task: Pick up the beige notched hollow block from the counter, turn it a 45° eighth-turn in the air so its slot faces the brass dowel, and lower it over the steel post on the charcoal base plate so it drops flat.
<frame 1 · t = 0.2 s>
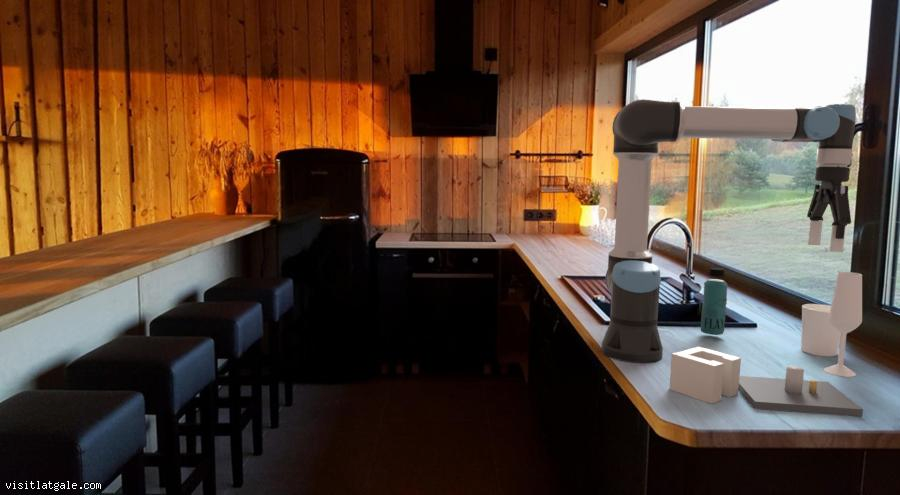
hand: (824, 248, 164), 28 cm above the table, tool pointing down, fingers open, 13 cm apart
champagne flute: (839, 372, 151), on the table
candle holder: (818, 352, 167), on the table
beverage bottle: (711, 337, 180), on the table
base plate: (792, 397, 133), on the table
beige notched hollow block: (703, 391, 136), on the table
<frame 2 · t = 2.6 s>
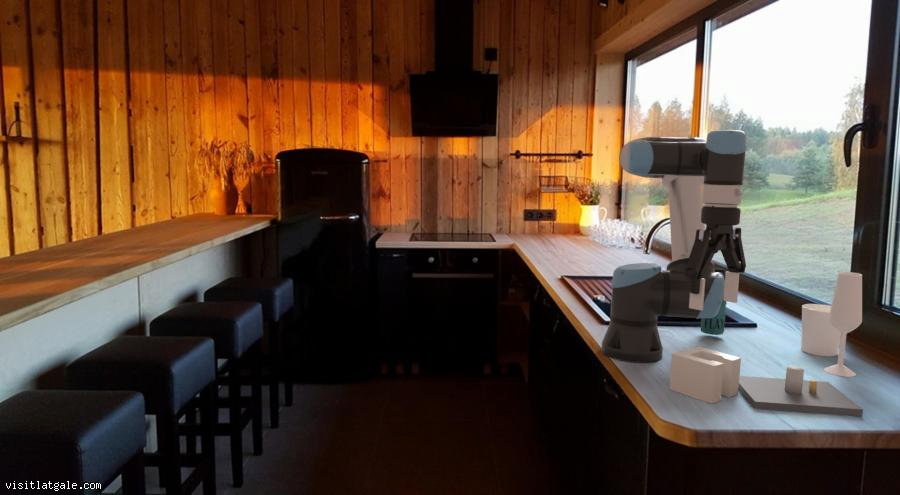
hand: (713, 305, 134), 19 cm above the table, tool pointing down, fingers open, 13 cm apart
nothing on the table moved.
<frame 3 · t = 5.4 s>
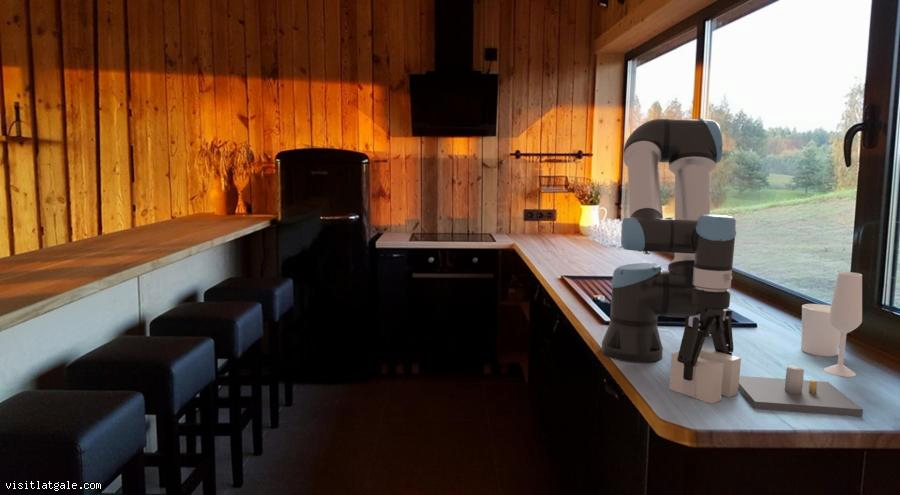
hand: (703, 389, 136), 1 cm above the table, tool pointing down, fingers closed on beige notched hollow block, 10 cm apart
beige notched hollow block: (703, 391, 136), on the table, touching gripper
everything else where it was.
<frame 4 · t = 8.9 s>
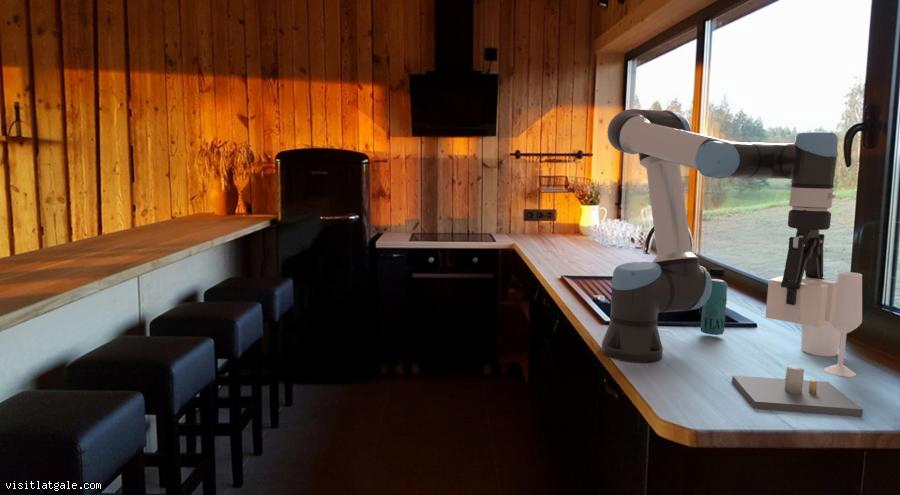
hand: (799, 316, 130), 18 cm above the table, tool pointing down, fingers closed on beige notched hollow block, 10 cm apart
beige notched hollow block: (799, 318, 130), point 17 cm above the table, touching gripper
everything else where it was.
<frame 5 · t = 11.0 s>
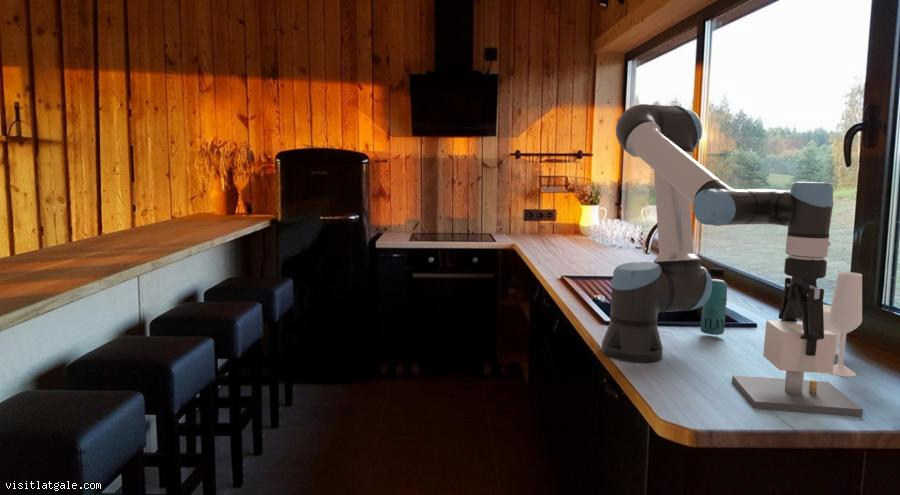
hand: (796, 362, 132), 8 cm above the table, tool pointing down, fingers closed on beige notched hollow block, 10 cm apart
beige notched hollow block: (796, 364, 132), point 7 cm above the table, touching gripper
everything else where it was.
when the fingers open (3 cm above the table, at t = 12.8 s): beige notched hollow block drops 1 cm, resting on base plate.
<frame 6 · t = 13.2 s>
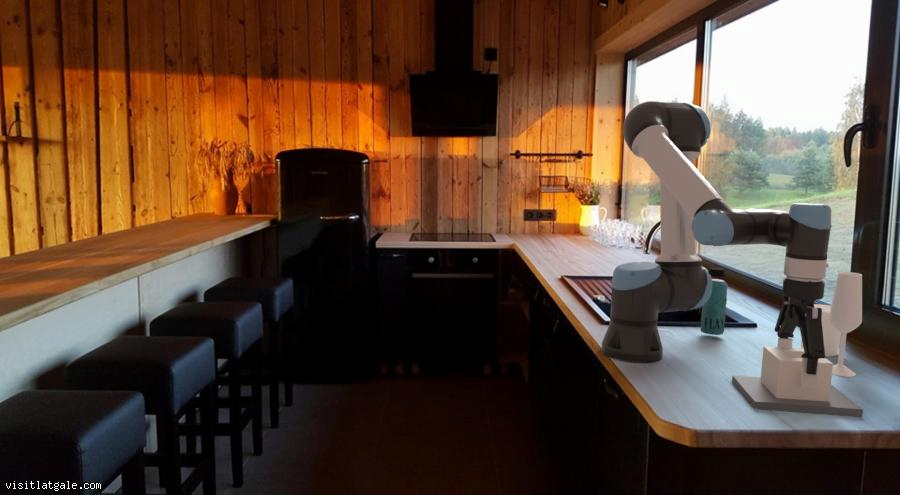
hand: (794, 377, 132), 4 cm above the table, tool pointing down, fingers open, 13 cm apart
beige notched hollow block: (793, 391, 133), point 1 cm above the table, touching base plate
everything else where it was.
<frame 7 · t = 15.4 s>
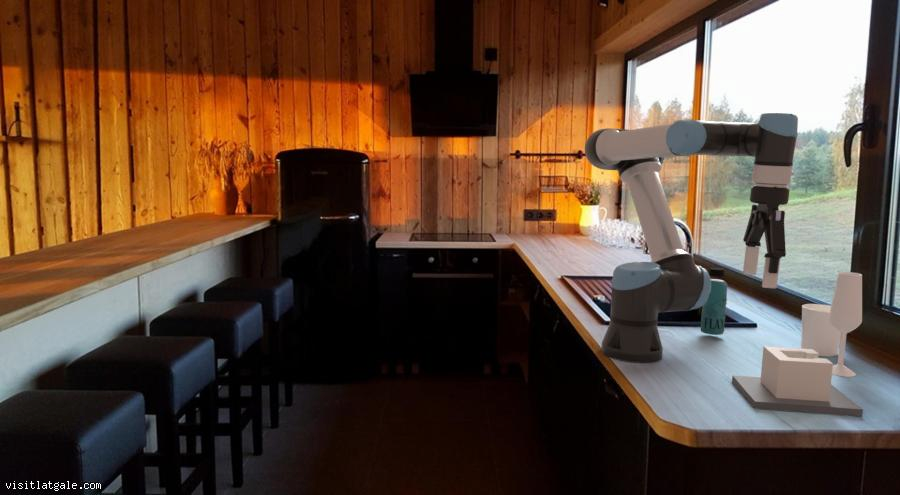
hand: (758, 280, 140), 23 cm above the table, tool pointing down, fingers open, 13 cm apart
nothing on the table moved.
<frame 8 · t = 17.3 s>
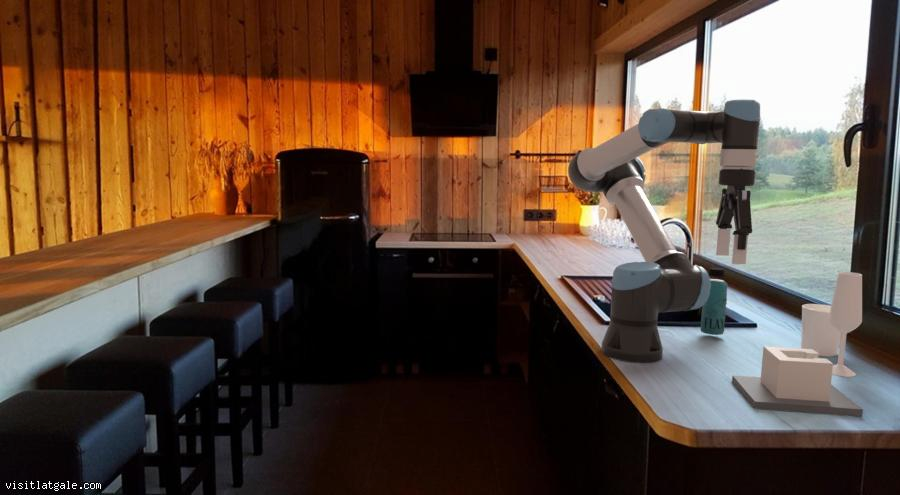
hand: (730, 259, 148), 27 cm above the table, tool pointing down, fingers open, 13 cm apart
nothing on the table moved.
at the end: beige notched hollow block 0.0 cm off-centre on the base plate, point 1.5 cm above the base plate's base; beige notched hollow block tilted 0°; the gripper is holding nothing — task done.
